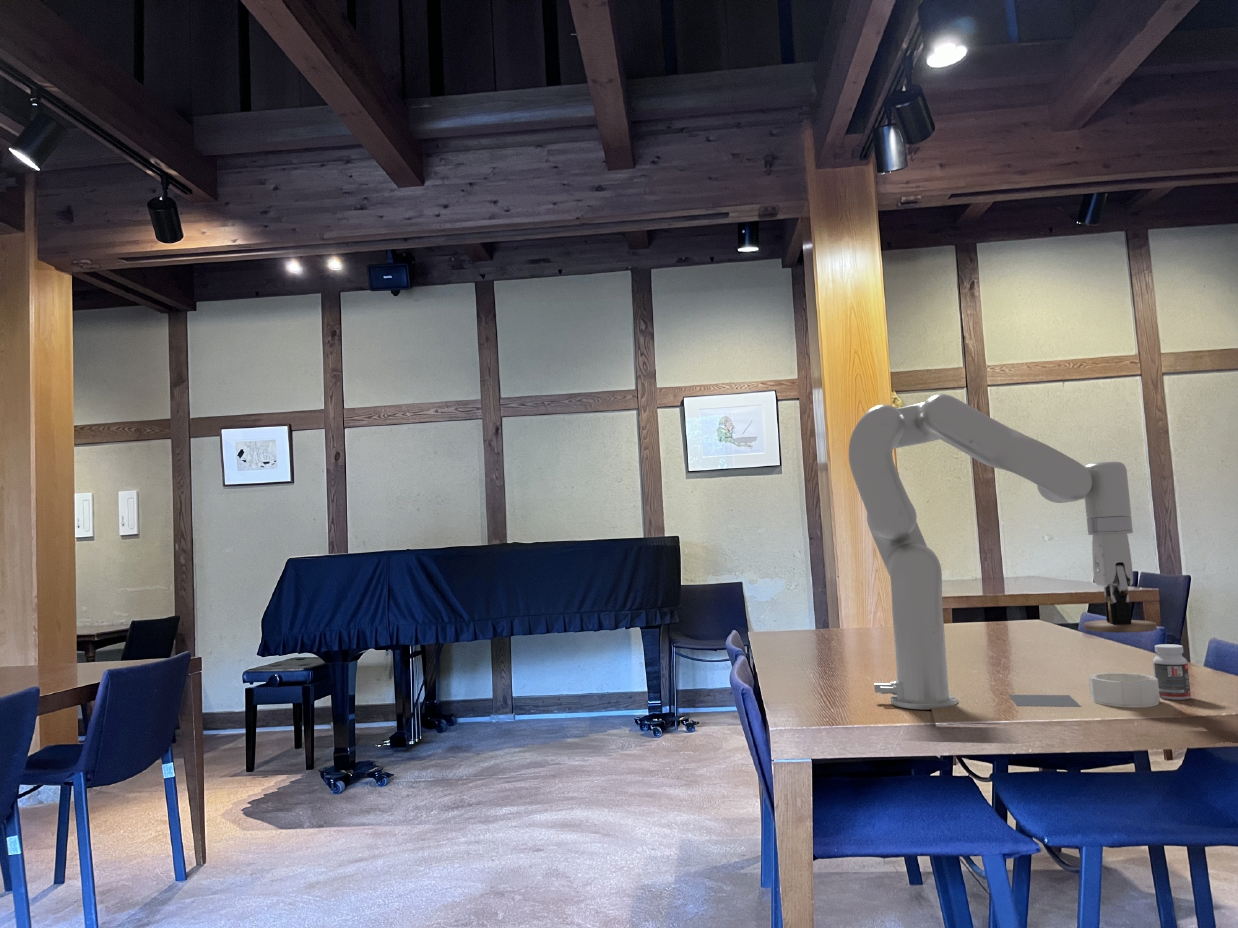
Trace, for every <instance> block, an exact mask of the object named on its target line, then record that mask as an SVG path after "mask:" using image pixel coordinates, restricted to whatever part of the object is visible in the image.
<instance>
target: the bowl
mask: <svg viewBox="0 0 1238 928" xmlns="http://www.w3.org/2000/svg"><path fill="white" fill-rule="evenodd" d="M1088 682H1089V683H1088V684H1089V695H1090V696H1089V697H1090V698H1091V701H1092V702H1093V703H1095V704H1099V705H1102V706H1110V707H1119V708H1151V707H1155V706H1157V705H1159V704H1160V701H1161V698H1160V696H1159V685H1158V679H1157V678H1156V677H1154V675H1149V674H1143V673H1134V672H1099V673H1092V674H1090V675H1088Z"/></svg>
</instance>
